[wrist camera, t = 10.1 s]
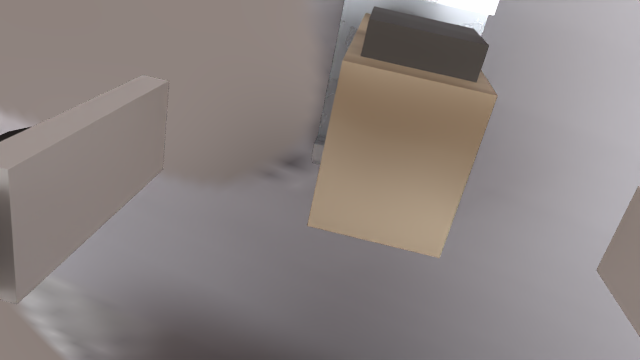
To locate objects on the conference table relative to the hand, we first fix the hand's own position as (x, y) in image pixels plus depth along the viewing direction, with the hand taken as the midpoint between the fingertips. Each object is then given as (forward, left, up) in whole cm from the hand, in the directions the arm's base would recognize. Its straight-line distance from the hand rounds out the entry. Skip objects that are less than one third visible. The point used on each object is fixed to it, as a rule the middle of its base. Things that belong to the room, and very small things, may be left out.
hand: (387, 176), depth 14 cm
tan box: (0, 0, -10) cm, 10 cm away
